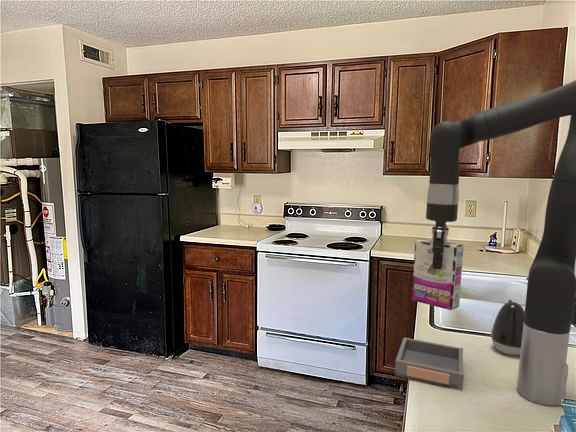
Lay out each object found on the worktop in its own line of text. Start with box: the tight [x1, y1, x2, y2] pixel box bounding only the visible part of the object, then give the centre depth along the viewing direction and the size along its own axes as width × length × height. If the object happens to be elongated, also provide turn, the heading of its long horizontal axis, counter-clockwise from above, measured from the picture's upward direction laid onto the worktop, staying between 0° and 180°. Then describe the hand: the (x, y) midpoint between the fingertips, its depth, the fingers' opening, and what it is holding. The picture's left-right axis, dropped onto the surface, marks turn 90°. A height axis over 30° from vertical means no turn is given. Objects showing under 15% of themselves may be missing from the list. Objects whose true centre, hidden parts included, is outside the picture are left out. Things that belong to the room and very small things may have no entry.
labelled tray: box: [394, 337, 464, 391], centre depth 107 cm, size 16×17×4 cm
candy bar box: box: [411, 238, 464, 311], centre depth 105 cm, size 11×5×16 cm, turn 45°
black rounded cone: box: [490, 299, 525, 356], centre depth 119 cm, size 10×10×15 cm
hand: (437, 265), depth 105 cm, fingers closed on candy bar box, 6 cm apart
